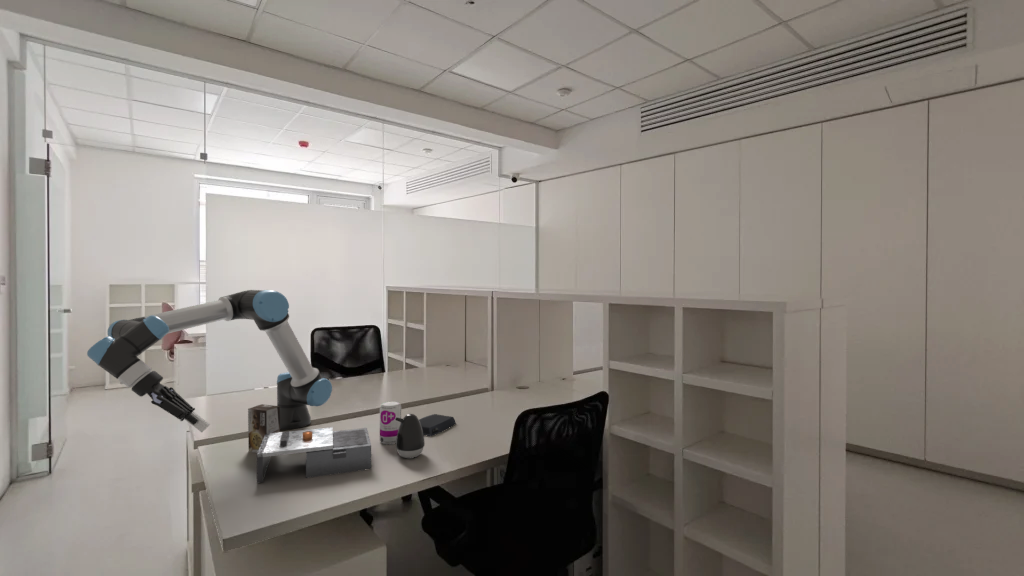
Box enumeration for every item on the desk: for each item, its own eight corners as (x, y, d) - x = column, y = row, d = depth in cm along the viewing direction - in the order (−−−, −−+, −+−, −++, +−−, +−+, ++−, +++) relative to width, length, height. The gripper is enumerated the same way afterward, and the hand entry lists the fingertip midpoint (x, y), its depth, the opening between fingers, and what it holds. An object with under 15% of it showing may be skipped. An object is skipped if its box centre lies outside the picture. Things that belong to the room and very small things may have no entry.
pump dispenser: (393, 452, 171) (393, 411, 171) (421, 449, 175) (421, 408, 174) (397, 462, 161) (397, 419, 161) (427, 458, 165) (427, 416, 165)
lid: (256, 482, 143) (256, 447, 143) (265, 459, 162) (265, 428, 162) (332, 472, 151) (332, 439, 151) (332, 451, 170) (332, 421, 170)
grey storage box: (305, 480, 147) (305, 454, 146) (308, 453, 169) (309, 431, 169) (371, 471, 154) (371, 447, 154) (366, 447, 176) (366, 425, 176)
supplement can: (395, 445, 178) (395, 406, 178) (375, 444, 180) (375, 405, 179) (404, 438, 186) (404, 401, 186) (385, 437, 188) (385, 400, 187)
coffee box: (280, 448, 174) (280, 405, 174) (266, 454, 168) (266, 410, 168) (262, 445, 177) (262, 403, 177) (247, 451, 171) (247, 407, 170)
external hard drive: (406, 433, 194) (406, 423, 194) (433, 421, 212) (433, 412, 212) (431, 438, 189) (431, 428, 189) (457, 425, 206) (457, 415, 206)
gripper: (139, 384, 146) (201, 431, 152) (121, 393, 133) (190, 444, 140) (159, 366, 147) (220, 413, 154) (144, 373, 135) (210, 425, 141)
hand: (206, 428), depth 147 cm, fingers closed
